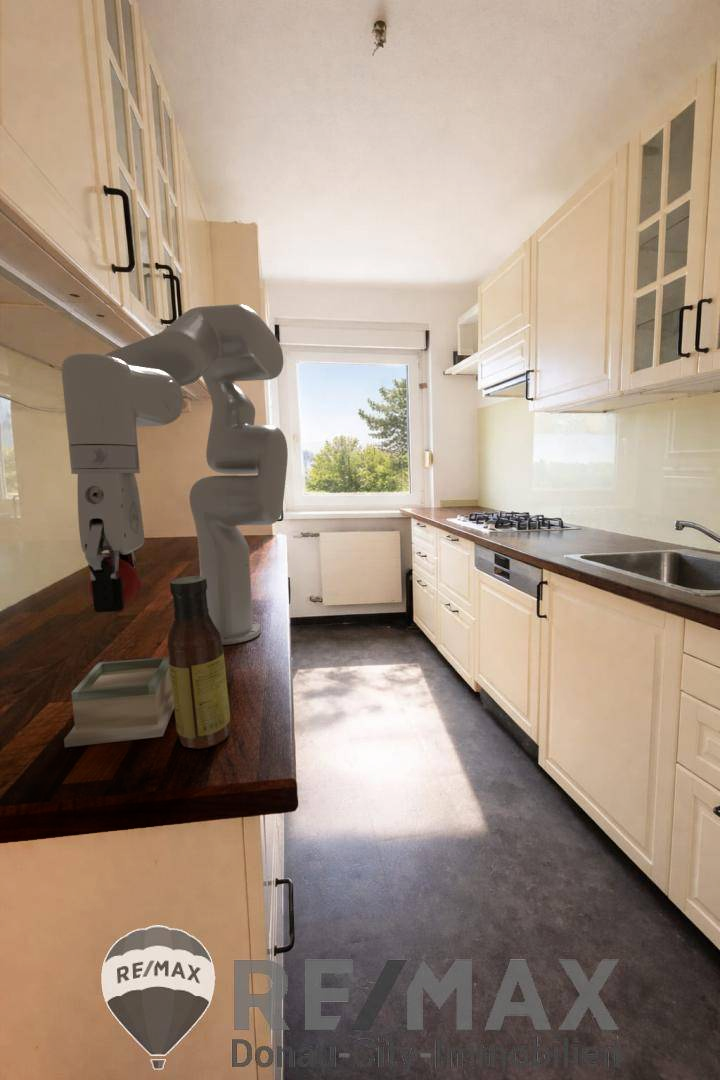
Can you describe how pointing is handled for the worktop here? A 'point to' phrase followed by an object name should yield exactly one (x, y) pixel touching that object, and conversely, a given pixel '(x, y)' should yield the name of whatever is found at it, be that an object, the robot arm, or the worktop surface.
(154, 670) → the open box
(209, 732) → the sauce bottle
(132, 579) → the onion
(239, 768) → the worktop surface
